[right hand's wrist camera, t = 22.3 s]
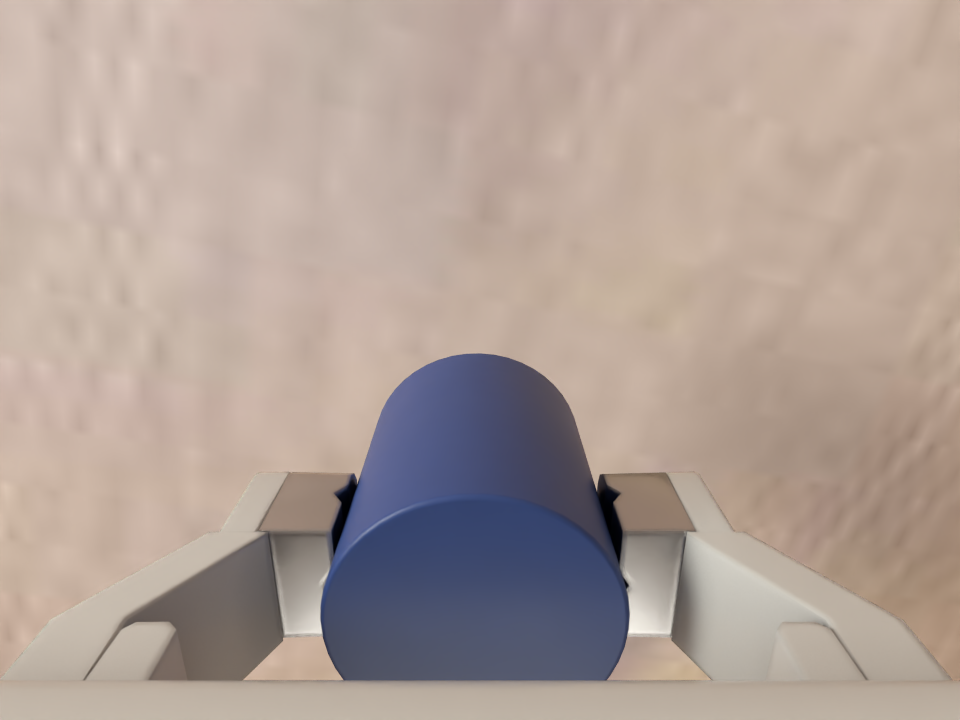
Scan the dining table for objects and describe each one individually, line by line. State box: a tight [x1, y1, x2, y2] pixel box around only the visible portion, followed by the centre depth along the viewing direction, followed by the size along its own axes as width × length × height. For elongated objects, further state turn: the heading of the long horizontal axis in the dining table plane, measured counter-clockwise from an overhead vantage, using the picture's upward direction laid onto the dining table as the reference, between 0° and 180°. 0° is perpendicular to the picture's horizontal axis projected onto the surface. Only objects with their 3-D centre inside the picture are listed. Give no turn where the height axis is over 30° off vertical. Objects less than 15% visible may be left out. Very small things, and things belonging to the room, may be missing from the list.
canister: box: [320, 354, 630, 680], centre depth 10 cm, size 4×4×5 cm
